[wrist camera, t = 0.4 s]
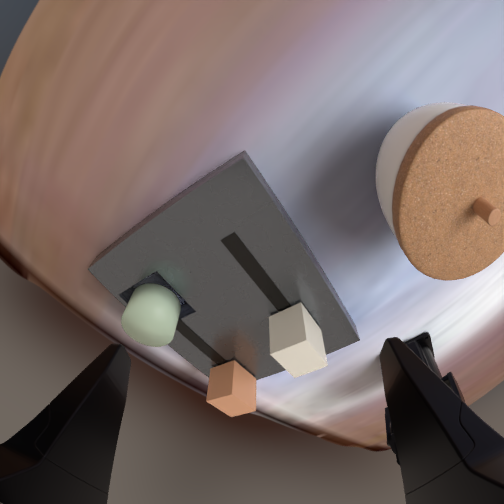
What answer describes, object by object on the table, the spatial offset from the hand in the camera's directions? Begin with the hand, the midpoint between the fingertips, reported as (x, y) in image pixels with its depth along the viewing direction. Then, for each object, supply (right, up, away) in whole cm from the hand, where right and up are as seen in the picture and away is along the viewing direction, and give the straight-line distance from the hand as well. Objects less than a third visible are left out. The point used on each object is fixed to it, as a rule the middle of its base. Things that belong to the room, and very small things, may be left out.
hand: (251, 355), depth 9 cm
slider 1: (-2, -9, +20) cm, 22 cm away
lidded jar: (+13, +10, +10) cm, 19 cm away
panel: (-2, -1, +17) cm, 17 cm away
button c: (-8, -1, +15) cm, 17 cm away
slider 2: (+4, -3, +16) cm, 16 cm away
